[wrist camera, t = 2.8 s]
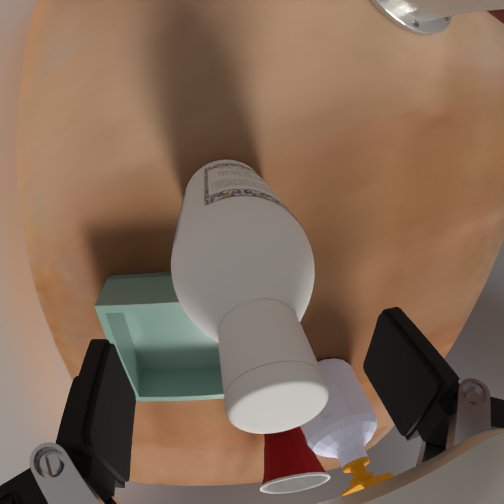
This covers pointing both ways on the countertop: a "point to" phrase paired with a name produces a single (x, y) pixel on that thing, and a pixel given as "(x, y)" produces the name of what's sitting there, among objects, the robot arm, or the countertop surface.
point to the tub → (158, 339)
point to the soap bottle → (344, 425)
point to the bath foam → (249, 295)
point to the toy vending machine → (498, 14)
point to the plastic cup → (290, 463)
